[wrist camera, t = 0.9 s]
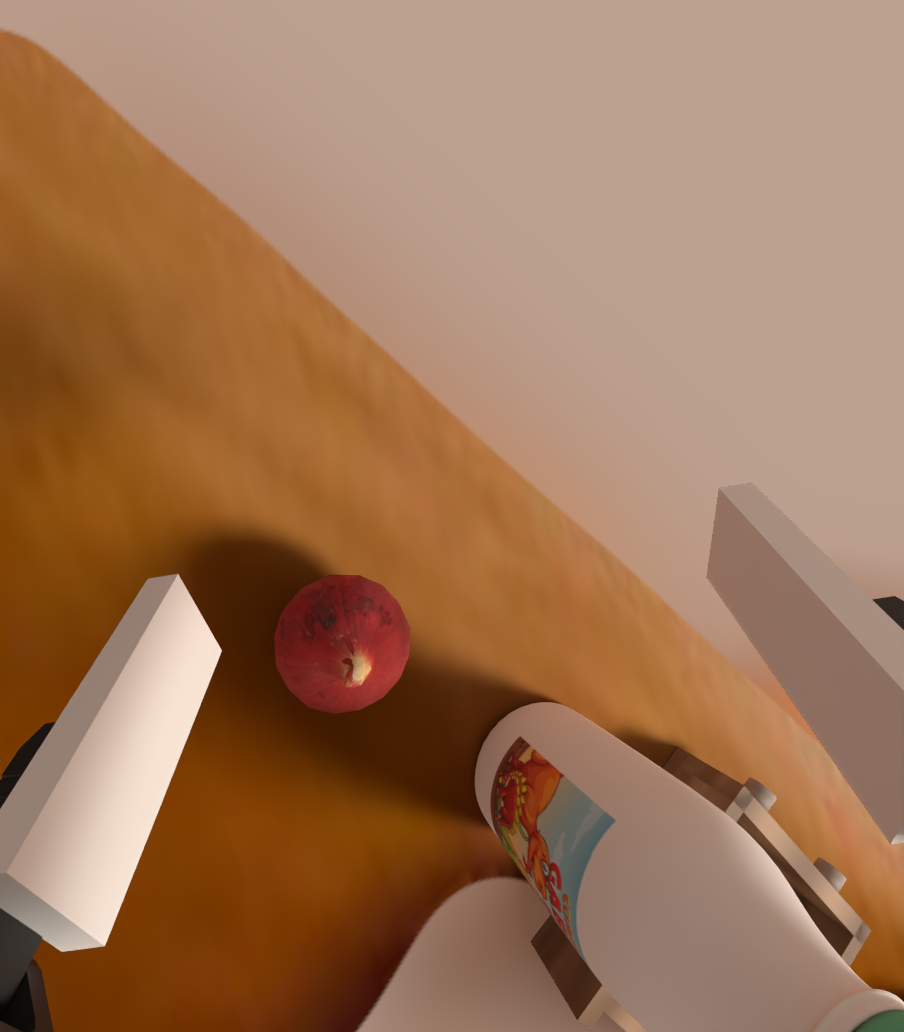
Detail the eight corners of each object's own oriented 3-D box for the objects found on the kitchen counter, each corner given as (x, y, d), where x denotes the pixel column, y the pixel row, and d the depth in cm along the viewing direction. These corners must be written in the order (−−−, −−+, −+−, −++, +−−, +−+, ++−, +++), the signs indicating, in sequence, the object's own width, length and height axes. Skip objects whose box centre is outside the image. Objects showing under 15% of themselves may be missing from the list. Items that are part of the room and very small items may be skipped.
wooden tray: (530, 941, 31) (577, 1020, 26) (689, 732, 34) (756, 767, 29) (670, 1065, 34) (735, 1155, 29) (803, 861, 37) (881, 913, 32)
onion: (253, 598, 26) (244, 634, 18) (363, 547, 28) (397, 561, 20) (304, 704, 27) (316, 780, 19) (408, 648, 28) (457, 698, 21)
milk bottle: (528, 671, 31) (947, 933, 12) (616, 746, 32) (1102, 1080, 13) (442, 788, 29) (761, 1314, 10) (540, 860, 31) (966, 1421, 12)
